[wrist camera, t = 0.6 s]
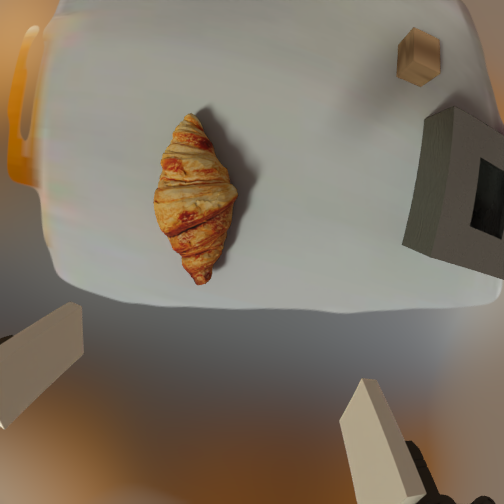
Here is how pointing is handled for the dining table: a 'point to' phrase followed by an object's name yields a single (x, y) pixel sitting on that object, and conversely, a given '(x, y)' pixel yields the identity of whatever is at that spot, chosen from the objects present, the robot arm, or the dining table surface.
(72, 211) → the dining table surface
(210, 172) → the croissant
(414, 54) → the brown block
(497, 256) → the box
